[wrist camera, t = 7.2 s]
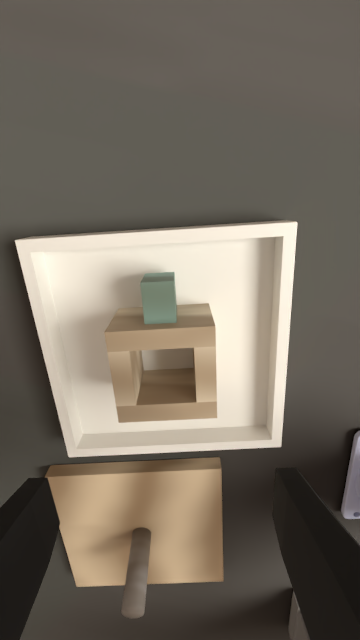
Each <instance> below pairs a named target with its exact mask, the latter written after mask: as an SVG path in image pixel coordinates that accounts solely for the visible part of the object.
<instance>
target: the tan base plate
mask: <svg viewBox="0 0 360 640" xmlns="http://www.w3.org/2000/svg"><path fill="white" fill-rule="evenodd" d="M47 477H48V481H49V485H50V488H51V492H52V495H53V499H54V502H55V506H56V510H57V513H58V517H59V520H60V525H59V528H60V531H61V535H62V538H63V541H64V545H65V548H66V552H67V555H68V558H69V562H70V565H71V569H72V572H73V575H74V579H75V582H76V586H77V587H87V586H113V585H125V588H124V595H123V602H122V609H121V613H122V614H123V615H124V616H125V617H128V618H139V617H141V616H143V615H144V612H145V600H146V589H147V584H164V583H190V582H216V581H223V530H222V474H221V463H220V457H213V458H192V459H171V460H150V461H129V462H108V463H88V464H67V465H50V467H49V469H48V471H47V473H46V475H45V478H47Z"/></svg>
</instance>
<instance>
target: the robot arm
mask: <svg viewBox="0 0 360 640" xmlns="http://www.w3.org/2000/svg"><path fill="white" fill-rule="evenodd" d="M341 513H342V515H343V517H344V518H346V519H360V431H358V432H357V433H356V434H355V436H354V440H353V446H352V451H351V457H350V462H349V468H348V474H347V479H346V485H345V491H344V496H343V502H342V507H341ZM272 516H273V520H274V524H275V529H276V533H277V537H278V542H279V546H280V550H281V554H282V557H283V560H284V563H285V566H286V569H287V572H288V575H289V578H290V581H291V584H292V587H293V590H294V593H295V596H296V599H297V602H298V605H299V608H300V611H301V614H302V617H303V620H304V623H305V626H306V629H307V632H308V635H309V638H310V640H360V545H359V544H358V543H357V541H356V540H355V539H354V538H353V537H352V536H351V535H350V533H349V532H348V531H347V530H346V529H345V528H344V526H343V525H342V524H341V523H340V522H339V521H338V519H337V518H336V517H335V516H334V515H333V513H332V512H331V511H330V510H329V509H328V507H327V506H326V505H325V504H324V502H323V501H322V500H321V499H320V497H319V496H318V495H317V494H316V492H315V491H314V490H313V489H312V487H311V486H310V485H309V483H308V482H307V481H306V479H305V478H304V477H303V475H302V474H301V473H300V471H299V470H298V469H297V468H276V473H275V486H274V500H273V513H272ZM59 525H60V520H59V517H58V513H57V510H56V506H55V502H54V499H53V495H52V492H51V488H50V485H49V481H48V477H47V478H28V479H27V481H26V482H25V483H24V484H23V485H22V486H21V487H20V488H19V489H18V490H17V491H16V492H15V493H14V494H13V495H12V496H11V497H10V498H9V499H8V500H7V501H6V502H5V504H4V505H3V506H2V507H1V508H0V640H19V639H20V637H21V634H22V632H23V629H24V627H25V624H26V621H27V619H28V616H29V614H30V611H31V609H32V606H33V603H34V601H35V598H36V596H37V593H38V591H39V588H40V585H41V583H42V580H43V578H44V575H45V572H46V570H47V567H48V564H49V562H50V558H51V555H52V551H53V548H54V544H55V541H56V537H57V533H58V529H59Z"/></svg>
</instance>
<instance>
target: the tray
mask: <svg viewBox="0 0 360 640" xmlns="http://www.w3.org/2000/svg"><path fill="white" fill-rule="evenodd" d="M296 234H297V222H294V221H286V220H281V221H266V222H250V223H235V224H220V225H204V226H189V227H173V228H158V229H142V230H127V231H112V232H96V233H81V234H65V235H50V236H34V237H28V238H23V239H18V240H15V243H16V247H17V251H18V255H19V259H20V263H21V267H22V271H23V275H24V279H25V283H26V287H27V292H28V296H29V300H30V304H31V308H32V312H33V316H34V320H35V324H36V328H37V332H38V336H39V340H40V344H41V348H42V352H43V356H44V360H45V364H46V368H47V372H48V376H49V380H50V384H51V388H52V392H53V396H54V400H55V404H56V408H57V412H58V416H59V420H60V424H61V428H62V432H63V436H64V440H65V444H66V448H67V452H68V456H69V457H85V456H106V455H126V454H147V453H168V452H188V451H209V450H230V449H250V448H271V447H281V442H282V428H283V414H284V401H285V387H286V373H287V359H288V345H289V331H290V317H291V303H292V289H293V275H294V262H295V248H296ZM163 272H174V273H175V288H176V303H177V305H188V304H205V303H209V306H210V309H211V313H212V316H213V320H214V323H215V327H216V380H217V418H208V419H188V420H167V421H146V422H126V423H119V422H118V415H117V409H116V403H115V397H114V390H113V384H112V378H111V372H110V366H109V359H108V353H107V347H106V341H105V334H104V332H105V330H106V328H107V327H108V325H109V323H110V322H111V320H112V319H113V317H114V315H115V314H116V312H117V310H118V309H119V308H134V307H143V305H142V295H141V286H140V282H141V280H142V278H143V276H144V275H145V274H146V273H163ZM142 359H143V367H144V370H163V369H182V368H194V364H193V348H178V349H159V350H142Z"/></svg>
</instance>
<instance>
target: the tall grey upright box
mask: <svg viewBox="0 0 360 640" xmlns="http://www.w3.org/2000/svg"><path fill="white" fill-rule="evenodd" d="M288 631H289V635H290V639H291V640H310V638H309V635H308V632H307V629H306V626H305V623H304V620H303V617H302V614H301V611H300V608H299V605H298V602H297V599H296V596H295V593H294V591H293V596H292V604H291V612H290V620H289V627H288Z"/></svg>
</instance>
